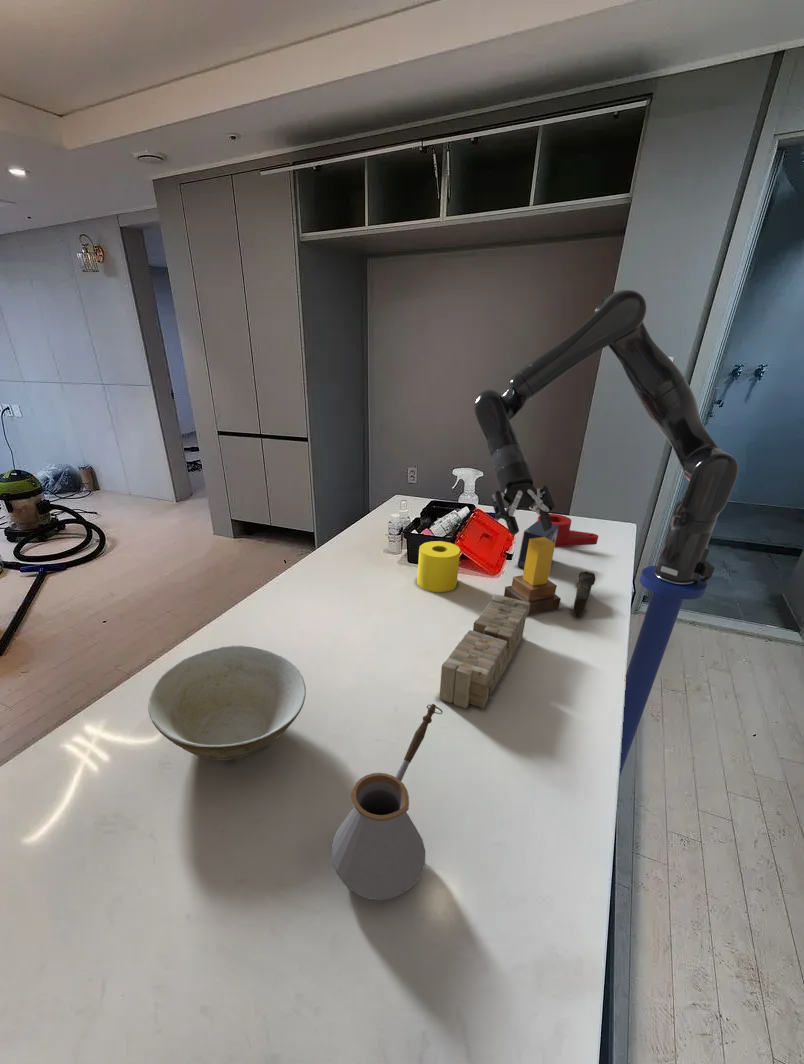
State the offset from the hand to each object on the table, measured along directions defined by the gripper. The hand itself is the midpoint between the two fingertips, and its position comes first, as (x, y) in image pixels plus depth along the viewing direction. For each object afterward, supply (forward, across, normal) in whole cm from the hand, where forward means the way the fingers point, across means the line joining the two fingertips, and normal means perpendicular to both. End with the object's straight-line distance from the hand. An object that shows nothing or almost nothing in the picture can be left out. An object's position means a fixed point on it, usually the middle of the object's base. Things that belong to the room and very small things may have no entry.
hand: (532, 531), depth 116 cm
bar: (+10, 0, +5) cm, 12 cm away
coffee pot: (+49, -53, -25) cm, 76 cm away
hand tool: (+17, +13, +7) cm, 22 cm away
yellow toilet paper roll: (+3, -17, +21) cm, 27 cm away
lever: (-6, +33, +30) cm, 45 cm away
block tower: (+28, -23, -4) cm, 36 cm away
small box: (+2, +14, +22) cm, 27 cm away
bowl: (+31, -71, -7) cm, 78 cm away
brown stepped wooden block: (+15, 0, +9) cm, 17 cm away
